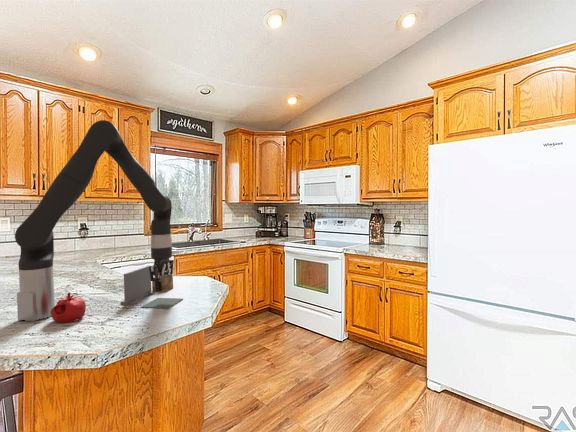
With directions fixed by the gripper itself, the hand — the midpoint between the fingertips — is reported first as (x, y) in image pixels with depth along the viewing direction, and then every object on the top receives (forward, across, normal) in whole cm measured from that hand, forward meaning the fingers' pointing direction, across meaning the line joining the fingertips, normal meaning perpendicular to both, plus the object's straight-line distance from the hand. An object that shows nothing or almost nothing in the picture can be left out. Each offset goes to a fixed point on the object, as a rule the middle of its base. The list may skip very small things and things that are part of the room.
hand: (162, 288), depth 120 cm
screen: (+6, +5, +14) cm, 15 cm away
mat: (+6, 0, 0) cm, 6 cm away
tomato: (+6, -19, +23) cm, 31 cm away
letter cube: (+1, 0, 0) cm, 1 cm away
